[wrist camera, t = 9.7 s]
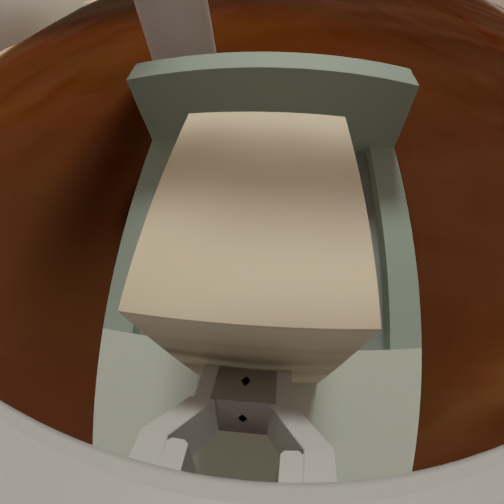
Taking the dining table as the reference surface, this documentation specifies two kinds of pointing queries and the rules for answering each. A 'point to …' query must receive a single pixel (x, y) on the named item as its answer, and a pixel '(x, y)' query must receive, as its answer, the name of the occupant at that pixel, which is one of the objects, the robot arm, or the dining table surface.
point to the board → (384, 247)
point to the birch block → (257, 247)
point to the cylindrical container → (176, 27)
